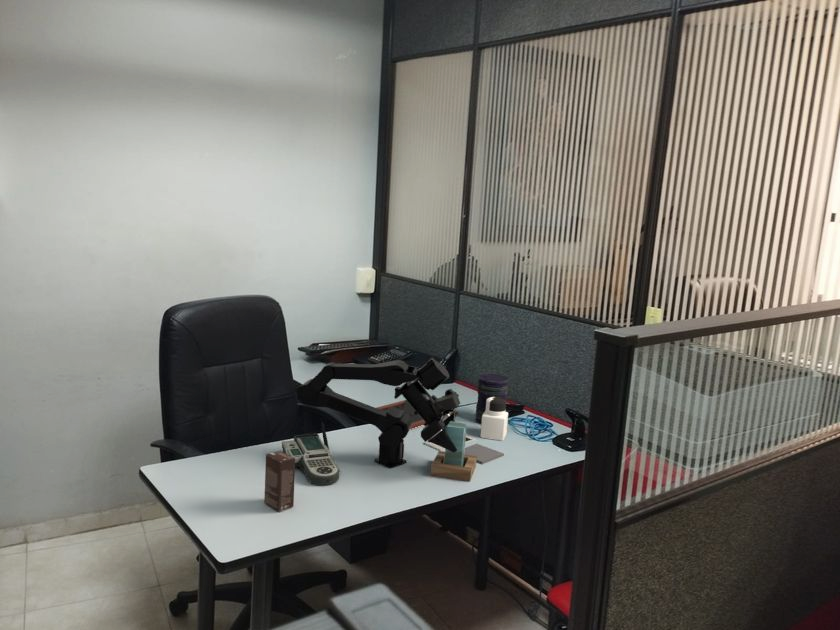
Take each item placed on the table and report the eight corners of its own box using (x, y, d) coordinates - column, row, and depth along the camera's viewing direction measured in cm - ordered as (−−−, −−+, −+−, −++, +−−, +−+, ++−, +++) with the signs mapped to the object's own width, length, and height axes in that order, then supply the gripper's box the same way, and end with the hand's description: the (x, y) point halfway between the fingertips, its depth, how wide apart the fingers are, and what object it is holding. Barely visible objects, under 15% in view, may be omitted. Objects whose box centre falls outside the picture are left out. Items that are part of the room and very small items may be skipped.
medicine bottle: (506, 433, 214) (509, 397, 212) (503, 441, 207) (506, 403, 205) (484, 430, 215) (487, 394, 213) (480, 437, 209) (483, 400, 207)
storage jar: (510, 421, 225) (514, 378, 223) (495, 428, 218) (499, 383, 215) (484, 414, 231) (488, 372, 229) (469, 421, 223) (472, 377, 221)
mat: (482, 464, 188) (482, 462, 188) (454, 453, 195) (455, 451, 194) (503, 455, 195) (504, 453, 195) (476, 445, 202) (476, 443, 202)
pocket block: (470, 481, 176) (470, 470, 175) (430, 475, 178) (431, 464, 178) (475, 466, 186) (476, 456, 185) (438, 461, 188) (439, 450, 188)
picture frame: (414, 402, 243) (363, 415, 224) (415, 396, 242) (363, 410, 224) (457, 416, 229) (406, 432, 211) (458, 411, 229) (406, 426, 211)
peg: (460, 475, 179) (463, 428, 177) (443, 473, 180) (447, 426, 178) (463, 469, 184) (466, 423, 181) (447, 466, 185) (450, 421, 182)
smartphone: (423, 444, 201) (423, 441, 201) (458, 434, 212) (459, 431, 211) (440, 452, 196) (440, 449, 196) (475, 441, 206) (476, 438, 206)
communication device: (301, 491, 166) (301, 457, 164) (279, 454, 187) (280, 424, 185) (348, 485, 170) (349, 452, 169) (321, 450, 192) (322, 420, 190)
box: (294, 507, 156) (296, 457, 154) (278, 512, 153) (279, 462, 151) (279, 498, 160) (280, 449, 158) (263, 503, 157) (264, 454, 155)
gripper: (436, 391, 170) (476, 439, 169) (449, 373, 188) (486, 417, 187) (403, 417, 173) (443, 464, 172) (420, 397, 191) (456, 440, 190)
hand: (458, 445), depth 181 cm, fingers open, 9 cm apart
